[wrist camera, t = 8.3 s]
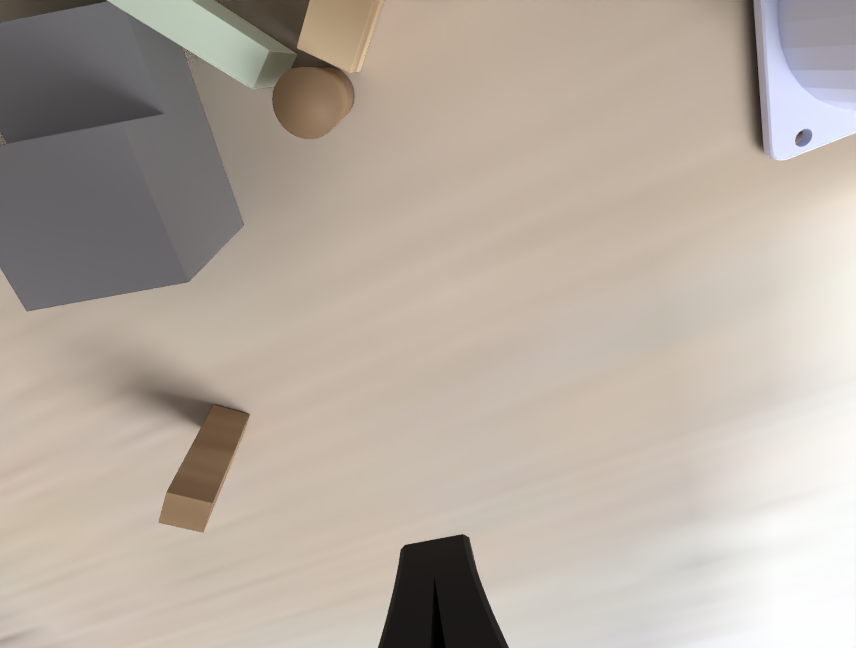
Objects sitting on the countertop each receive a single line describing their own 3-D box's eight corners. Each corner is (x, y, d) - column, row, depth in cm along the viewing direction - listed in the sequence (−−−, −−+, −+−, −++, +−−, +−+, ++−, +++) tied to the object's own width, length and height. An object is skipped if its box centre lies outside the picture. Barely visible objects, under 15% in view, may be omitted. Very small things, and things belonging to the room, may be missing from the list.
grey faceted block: (171, 11, 14) (61, -17, 9) (245, 224, 16) (188, 282, 12) (29, 39, 14) (-148, 24, 9) (126, 245, 16) (26, 311, 12)
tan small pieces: (365, -117, 12) (351, -204, 8) (416, -88, 13) (427, -159, 9) (205, 431, 20) (158, 522, 16) (240, 440, 20) (203, 532, 16)
